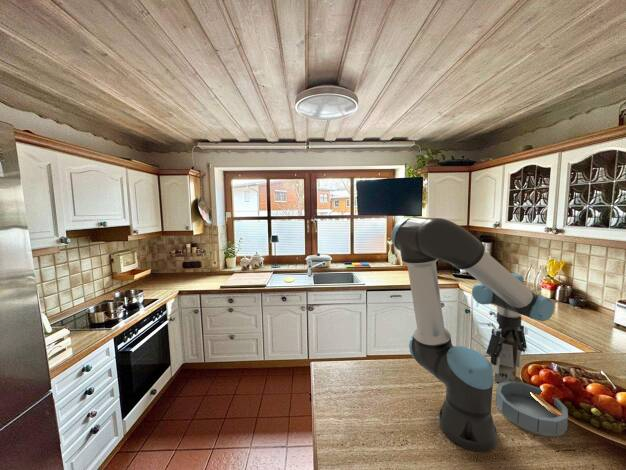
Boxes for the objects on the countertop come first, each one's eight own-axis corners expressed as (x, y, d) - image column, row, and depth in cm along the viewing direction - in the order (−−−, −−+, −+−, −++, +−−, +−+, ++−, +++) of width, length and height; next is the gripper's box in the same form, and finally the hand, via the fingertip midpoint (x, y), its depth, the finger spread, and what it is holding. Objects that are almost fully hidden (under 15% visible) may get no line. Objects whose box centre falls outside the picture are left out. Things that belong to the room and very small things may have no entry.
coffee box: (514, 388, 97) (517, 346, 95) (493, 381, 101) (496, 341, 99) (515, 375, 104) (518, 336, 102) (496, 369, 108) (498, 332, 106)
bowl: (541, 444, 74) (542, 428, 74) (483, 401, 91) (484, 387, 90) (580, 427, 80) (581, 411, 79) (519, 389, 96) (520, 376, 96)
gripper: (496, 322, 93) (492, 381, 95) (541, 313, 100) (537, 368, 102) (476, 314, 100) (474, 369, 102) (520, 306, 107) (517, 357, 109)
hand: (505, 368), depth 102 cm, fingers closed on coffee box, 11 cm apart
